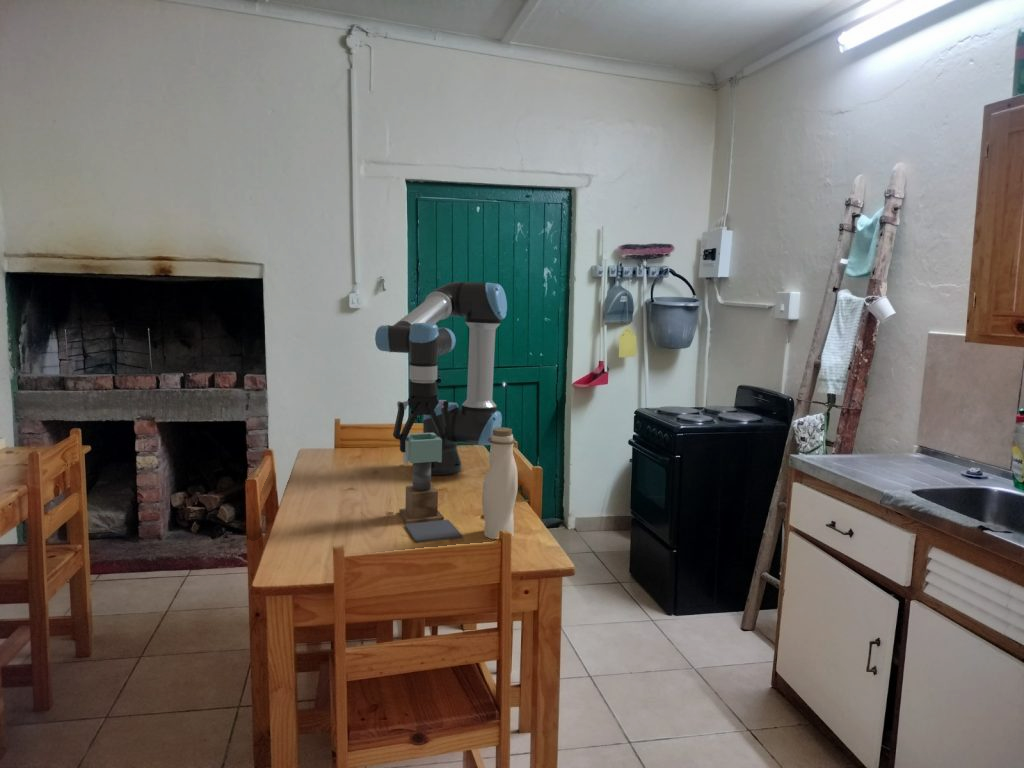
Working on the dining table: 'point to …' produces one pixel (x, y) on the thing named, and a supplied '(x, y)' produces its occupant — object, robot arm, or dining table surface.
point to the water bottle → (500, 484)
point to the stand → (421, 497)
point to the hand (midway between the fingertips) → (422, 462)
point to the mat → (432, 531)
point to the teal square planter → (424, 447)
